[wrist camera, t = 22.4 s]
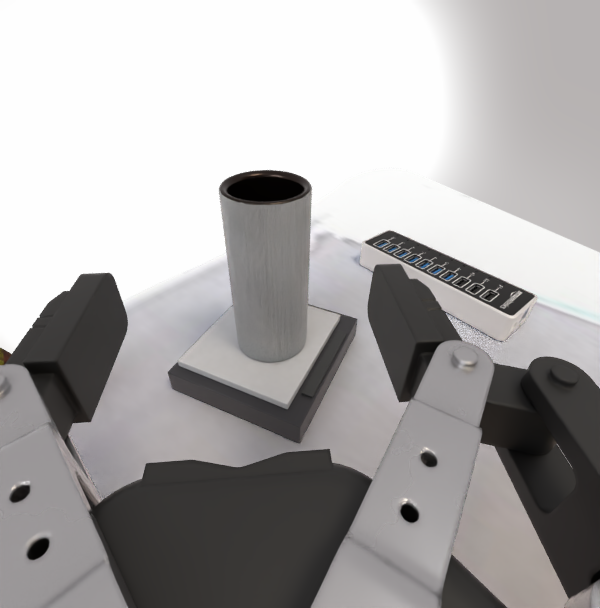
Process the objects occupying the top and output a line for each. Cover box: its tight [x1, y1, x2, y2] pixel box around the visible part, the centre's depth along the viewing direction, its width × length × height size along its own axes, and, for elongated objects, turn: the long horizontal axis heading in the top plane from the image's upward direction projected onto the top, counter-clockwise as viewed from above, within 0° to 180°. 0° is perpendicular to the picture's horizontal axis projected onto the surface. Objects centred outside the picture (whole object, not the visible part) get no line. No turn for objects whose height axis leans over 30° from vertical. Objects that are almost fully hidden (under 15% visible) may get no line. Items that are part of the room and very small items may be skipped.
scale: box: [168, 304, 357, 443], centre depth 25 cm, size 10×9×2 cm
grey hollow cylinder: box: [219, 170, 312, 362], centre depth 21 cm, size 4×4×10 cm
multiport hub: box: [359, 230, 538, 341], centre depth 32 cm, size 4×14×2 cm, turn 41°
